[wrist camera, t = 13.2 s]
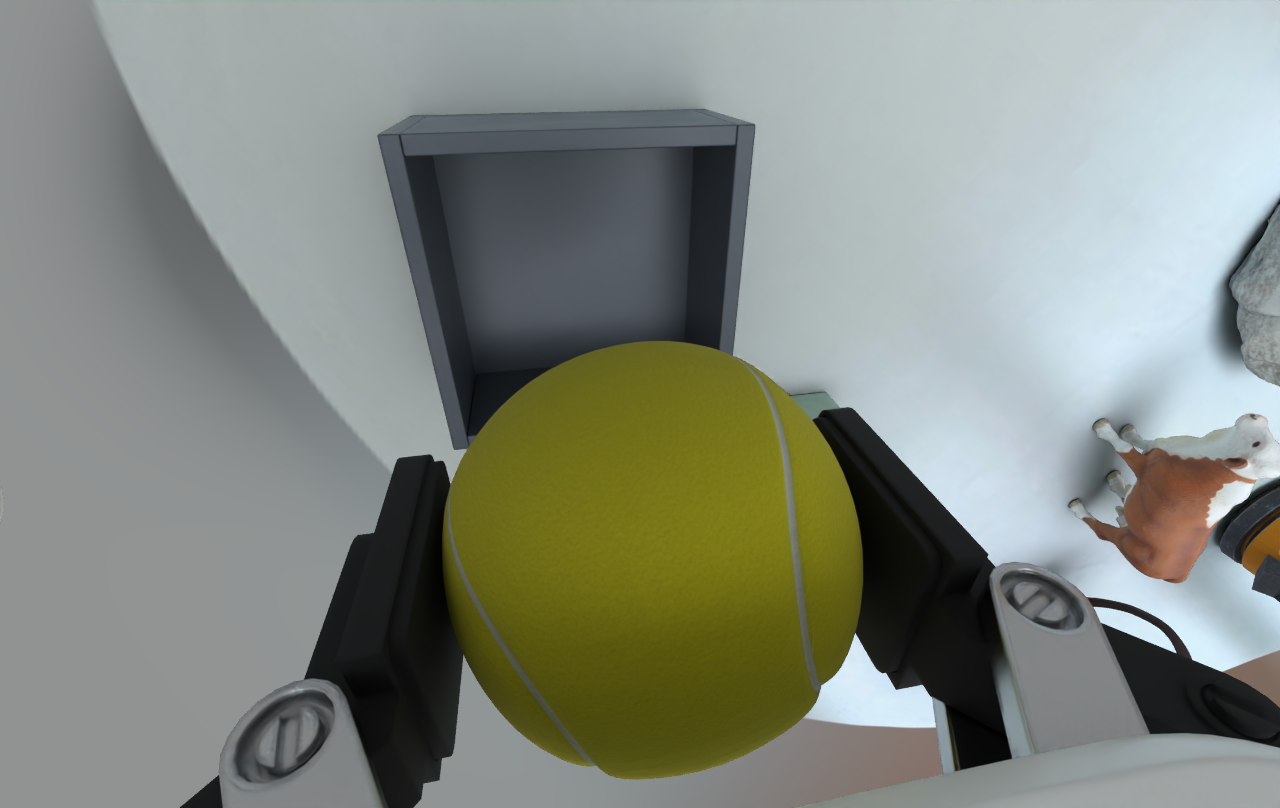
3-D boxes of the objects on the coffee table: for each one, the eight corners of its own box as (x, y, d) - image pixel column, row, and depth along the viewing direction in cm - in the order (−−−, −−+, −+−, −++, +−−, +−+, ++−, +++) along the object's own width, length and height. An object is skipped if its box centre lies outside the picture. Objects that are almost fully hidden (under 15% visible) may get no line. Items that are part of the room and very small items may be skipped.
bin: (465, 379, 26) (453, 450, 21) (410, 115, 20) (376, 134, 15) (692, 358, 28) (726, 419, 23) (705, 109, 21) (756, 123, 17)
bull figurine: (1173, 360, 34) (1334, 436, 27) (1103, 510, 42) (1216, 598, 35) (1109, 376, 34) (1256, 456, 27) (1051, 524, 41) (1154, 615, 35)
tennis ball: (542, 569, 15) (556, 903, 9) (400, 359, 11) (259, 715, 5) (785, 479, 15) (958, 760, 9) (730, 232, 11) (982, 450, 5)
